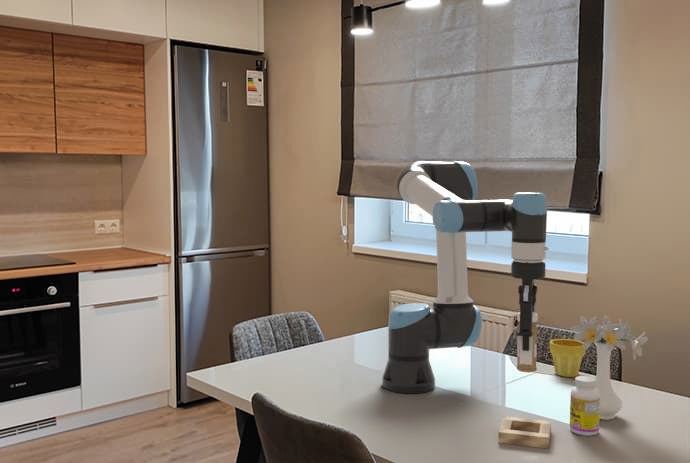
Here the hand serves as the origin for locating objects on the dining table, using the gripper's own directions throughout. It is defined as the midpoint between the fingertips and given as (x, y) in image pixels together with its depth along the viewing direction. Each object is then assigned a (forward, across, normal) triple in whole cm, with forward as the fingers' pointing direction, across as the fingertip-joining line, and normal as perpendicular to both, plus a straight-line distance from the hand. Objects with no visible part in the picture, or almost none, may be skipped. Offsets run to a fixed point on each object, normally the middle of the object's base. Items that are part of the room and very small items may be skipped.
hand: (526, 360), depth 163 cm
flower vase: (+18, +21, -18) cm, 33 cm away
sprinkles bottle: (+2, 0, 0) cm, 2 cm away
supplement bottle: (+18, +8, -13) cm, 24 cm away
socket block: (+18, 0, 0) cm, 18 cm away
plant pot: (+18, +57, -8) cm, 60 cm away
